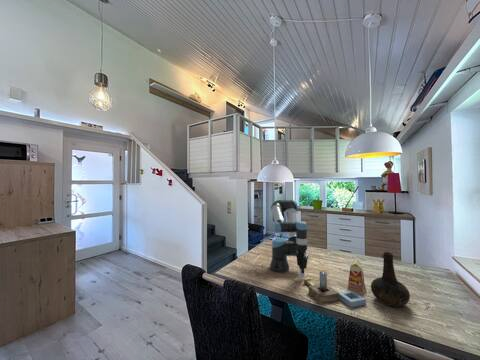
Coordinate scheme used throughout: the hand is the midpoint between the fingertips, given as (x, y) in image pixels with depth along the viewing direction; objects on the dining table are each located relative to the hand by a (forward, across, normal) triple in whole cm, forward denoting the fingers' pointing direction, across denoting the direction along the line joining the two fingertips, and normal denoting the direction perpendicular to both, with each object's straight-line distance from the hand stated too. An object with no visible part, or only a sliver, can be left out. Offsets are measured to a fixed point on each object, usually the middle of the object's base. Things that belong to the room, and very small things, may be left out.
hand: (301, 277), depth 145 cm
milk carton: (+2, +23, +25) cm, 34 cm away
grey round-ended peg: (+2, +23, 0) cm, 23 cm away
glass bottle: (+2, +39, +32) cm, 50 cm away
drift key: (+1, +10, 0) cm, 10 cm away
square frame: (+2, +32, +12) cm, 34 cm away
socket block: (+2, +23, 0) cm, 23 cm away
